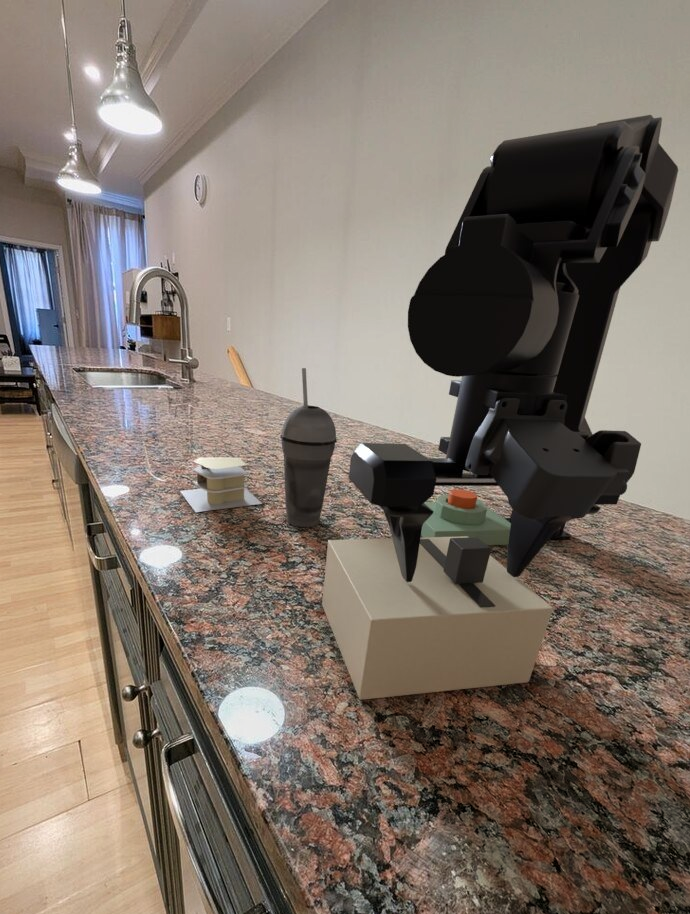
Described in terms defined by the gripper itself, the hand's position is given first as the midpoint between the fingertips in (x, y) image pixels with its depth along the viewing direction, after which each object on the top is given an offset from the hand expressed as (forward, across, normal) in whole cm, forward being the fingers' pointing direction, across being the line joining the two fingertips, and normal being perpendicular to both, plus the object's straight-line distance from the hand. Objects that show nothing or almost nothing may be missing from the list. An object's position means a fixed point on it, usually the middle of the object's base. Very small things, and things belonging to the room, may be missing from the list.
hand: (460, 577), depth 35 cm
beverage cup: (+7, -7, +28) cm, 29 cm away
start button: (+4, +14, +24) cm, 28 cm away
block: (+7, +14, +24) cm, 28 cm away
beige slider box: (+7, -2, +2) cm, 8 cm away
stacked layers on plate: (+7, -18, +37) cm, 41 cm away
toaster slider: (0, 0, 0) cm, 0 cm away
